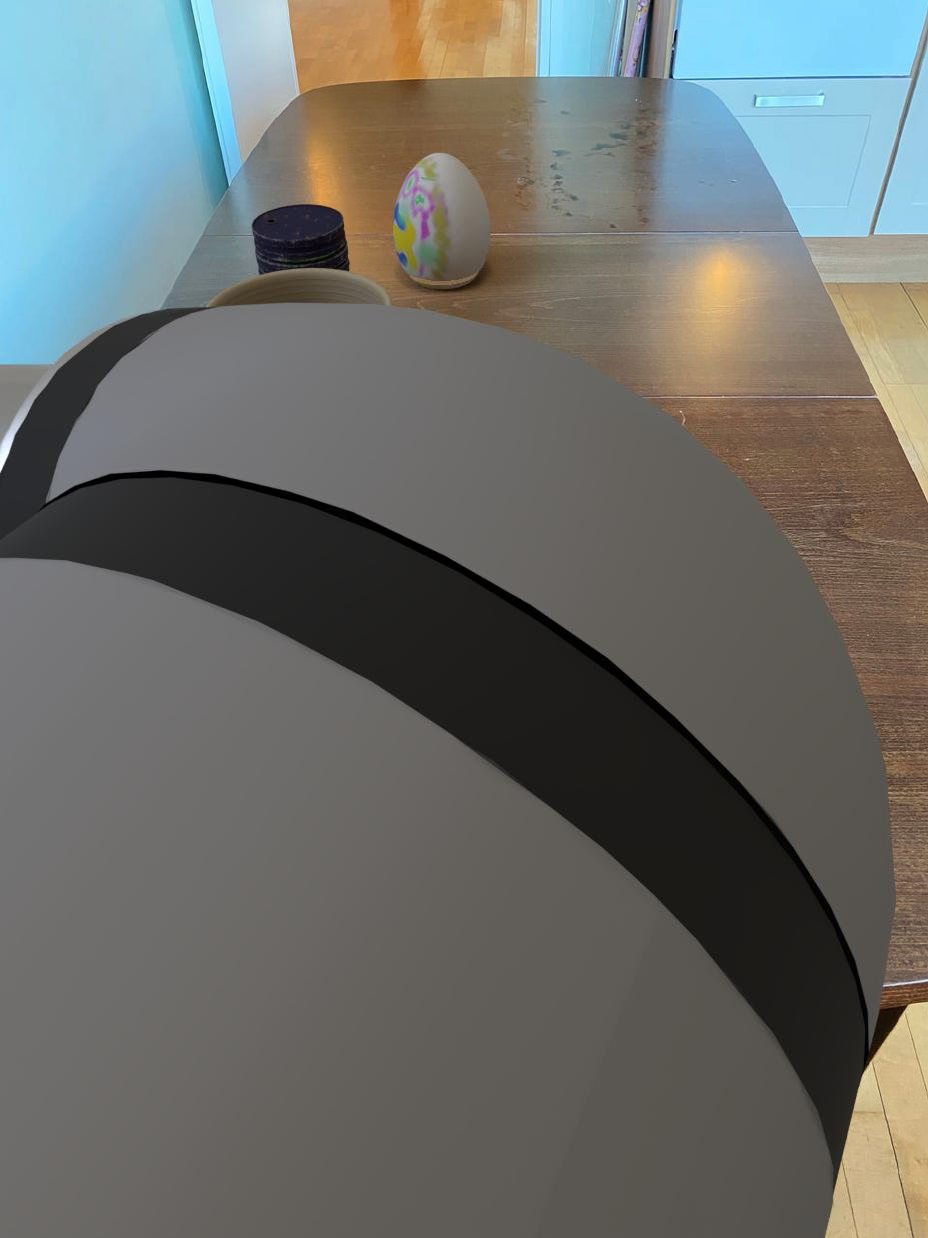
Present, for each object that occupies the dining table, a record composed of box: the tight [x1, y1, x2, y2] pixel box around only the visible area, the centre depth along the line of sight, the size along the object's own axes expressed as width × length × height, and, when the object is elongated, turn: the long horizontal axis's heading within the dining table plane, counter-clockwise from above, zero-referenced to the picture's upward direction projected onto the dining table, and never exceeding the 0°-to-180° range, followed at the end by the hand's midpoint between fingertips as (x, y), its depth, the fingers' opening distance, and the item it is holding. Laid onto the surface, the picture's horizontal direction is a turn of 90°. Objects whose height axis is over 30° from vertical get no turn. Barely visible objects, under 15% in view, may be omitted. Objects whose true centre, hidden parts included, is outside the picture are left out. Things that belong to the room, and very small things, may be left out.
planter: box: [205, 268, 394, 307], centre depth 89 cm, size 17×17×15 cm
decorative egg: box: [392, 152, 492, 290], centre depth 118 cm, size 12×12×15 cm
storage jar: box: [251, 203, 351, 275], centre depth 104 cm, size 10×10×15 cm
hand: (301, 606), depth 43 cm, fingers open, 4 cm apart
